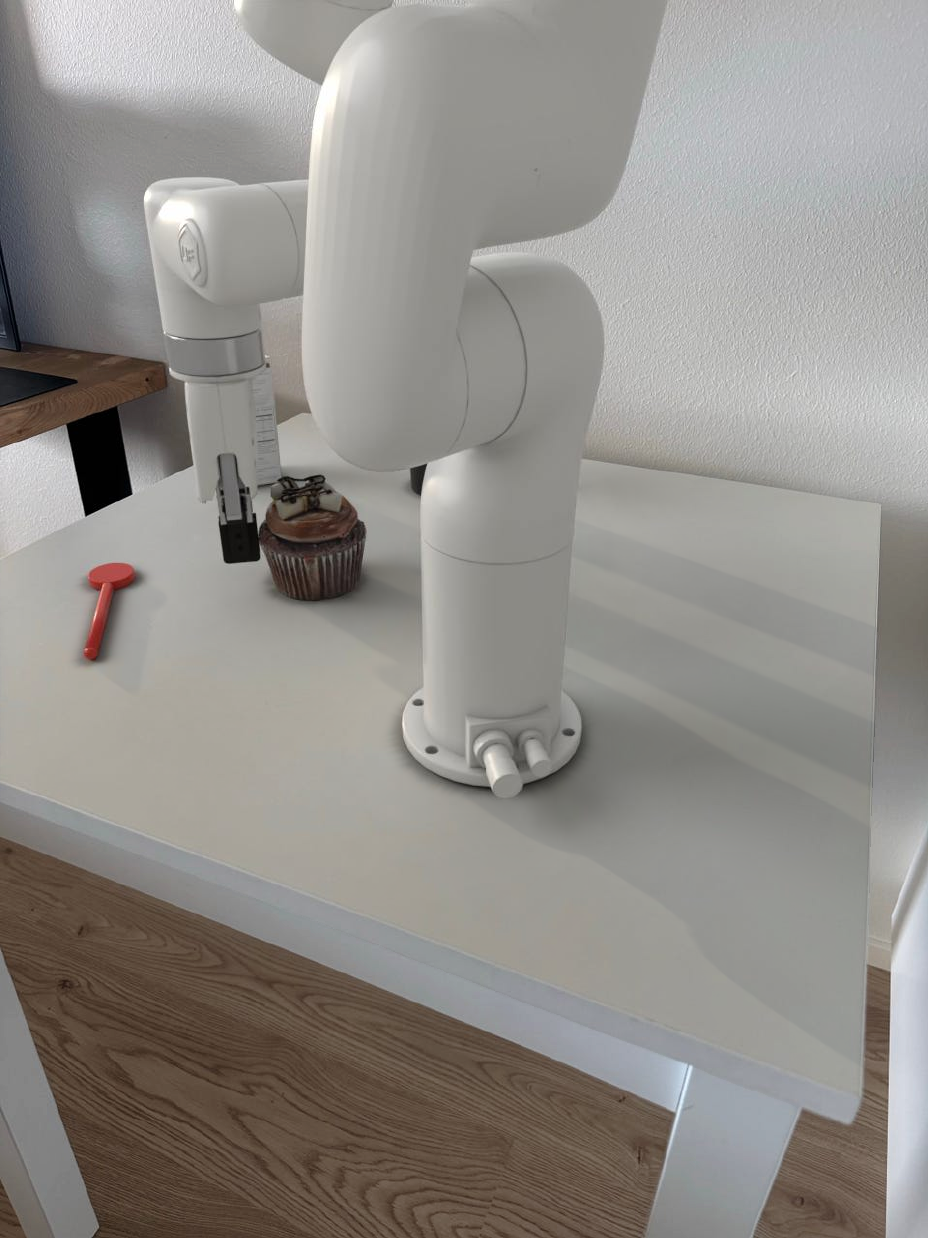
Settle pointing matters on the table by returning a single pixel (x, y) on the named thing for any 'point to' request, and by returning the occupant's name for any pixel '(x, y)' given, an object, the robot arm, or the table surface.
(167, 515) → the table surface
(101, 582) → the spoon
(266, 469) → the syrup box
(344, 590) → the cupcake
